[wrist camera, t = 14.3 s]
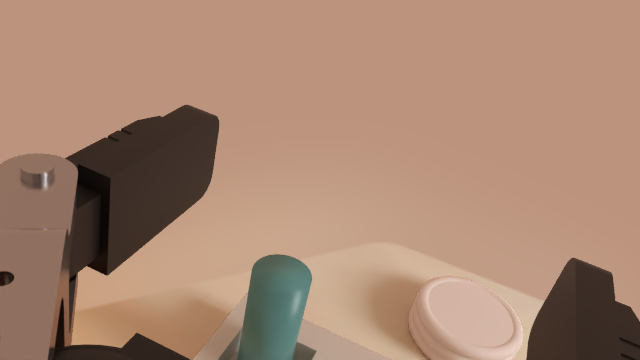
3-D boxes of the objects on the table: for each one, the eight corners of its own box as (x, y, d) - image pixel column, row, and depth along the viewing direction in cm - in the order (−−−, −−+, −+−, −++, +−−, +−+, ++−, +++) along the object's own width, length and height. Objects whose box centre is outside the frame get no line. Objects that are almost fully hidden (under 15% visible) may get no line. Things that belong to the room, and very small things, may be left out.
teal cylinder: (294, 376, 45) (321, 269, 39) (270, 414, 42) (296, 304, 36) (249, 354, 46) (269, 247, 40) (223, 390, 43) (240, 278, 37)
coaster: (482, 300, 60) (494, 275, 58) (529, 380, 51) (546, 354, 50) (392, 298, 57) (403, 271, 55) (428, 383, 49) (442, 355, 47)
